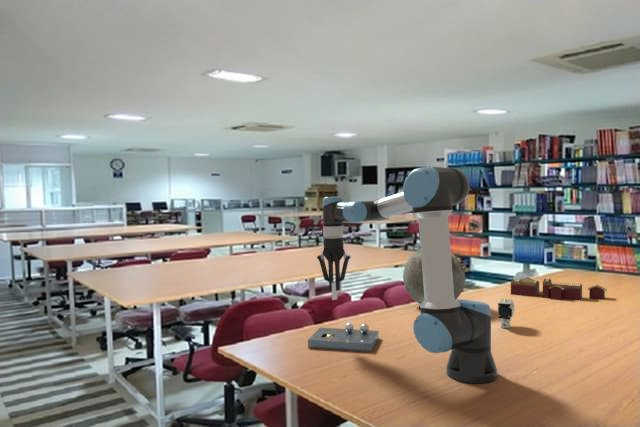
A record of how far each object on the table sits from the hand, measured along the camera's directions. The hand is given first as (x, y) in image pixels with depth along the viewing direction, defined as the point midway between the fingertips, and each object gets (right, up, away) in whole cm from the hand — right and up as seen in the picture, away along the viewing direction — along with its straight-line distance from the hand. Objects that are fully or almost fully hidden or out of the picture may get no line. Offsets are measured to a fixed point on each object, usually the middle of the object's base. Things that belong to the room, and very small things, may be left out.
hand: (334, 299), depth 184 cm
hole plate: (+4, -17, +2) cm, 18 cm away
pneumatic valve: (+73, -15, +18) cm, 76 cm away
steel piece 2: (+12, -12, +5) cm, 18 cm away
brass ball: (-2, -16, +2) cm, 16 cm away
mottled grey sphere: (+51, -14, +58) cm, 78 cm away
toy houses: (+123, -13, +77) cm, 145 cm away
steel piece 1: (+6, -12, +6) cm, 15 cm away
